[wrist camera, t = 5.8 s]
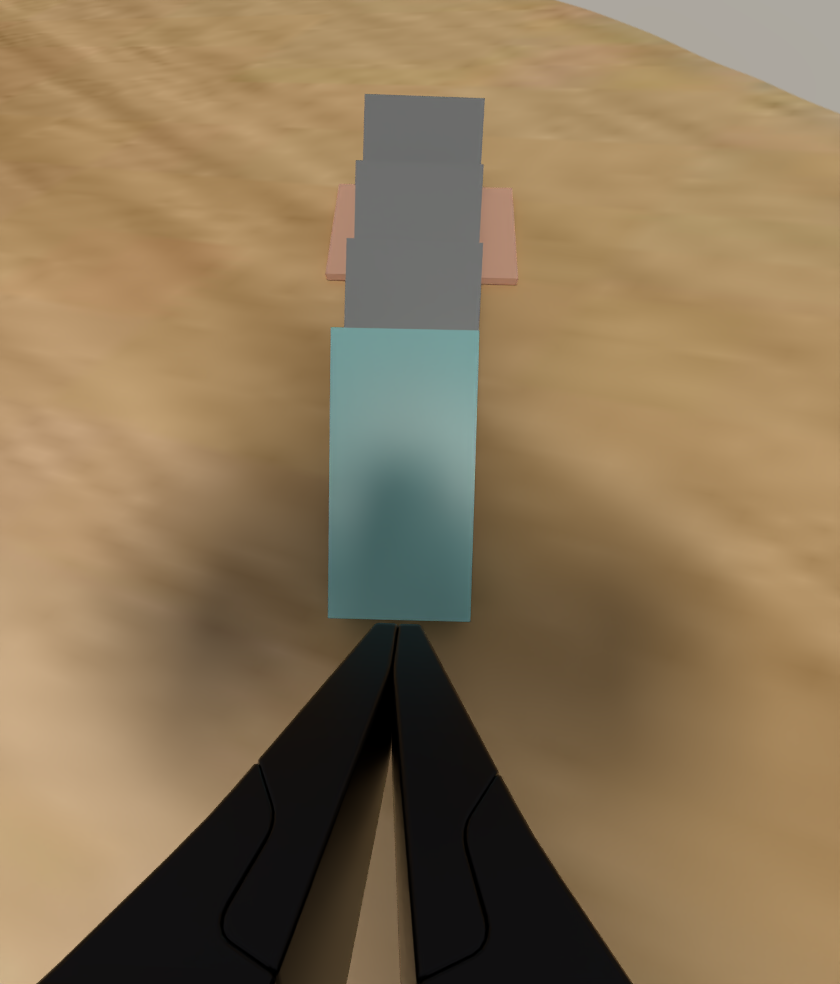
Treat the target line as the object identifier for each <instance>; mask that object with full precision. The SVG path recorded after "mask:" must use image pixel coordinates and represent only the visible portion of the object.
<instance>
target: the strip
mask: <svg viewBox="0 0 840 984" xmlns="http://www.w3.org/2000/svg"><path fill="white" fill-rule="evenodd" d="M354 227H355V184H339V188H338V195H337V201H336V208H335V214H334V221H333V228H332V234H331V241H330V247H329V254H328V260H327V267H326V273H325V274H326V278H327V280H346V242H347V238H354ZM479 243H483V257H482V276H481V284H503V285H517V281H518V270H517V255H516V240H515V224H514V209H513V194H512V188H489V187H482V202H481V221H480V240H479Z"/></svg>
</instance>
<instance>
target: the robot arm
mask: <svg viewBox="0 0 840 984" xmlns="http://www.w3.org/2000/svg"><path fill="white" fill-rule="evenodd" d="M391 745H392V781H393V807H394V832H395V858H396V883H397V908H398V934H399V959H400V984H633V983H632V982H631V980H630V979H629V977H628V976H627V974H626V973H625V971H624V970H623V968H622V967H621V965H620V964H619V963H618V961H617V960H616V958H615V957H614V955H613V954H612V952H611V951H610V949H609V948H608V946H607V945H606V943H605V942H604V940H603V939H602V937H601V936H600V934H599V933H598V931H597V930H596V928H595V927H594V926H593V924H592V923H591V921H590V920H589V918H588V917H587V915H586V914H585V912H584V911H583V909H582V908H581V906H580V905H579V903H578V902H577V900H576V899H575V897H574V896H573V894H572V893H571V892H570V890H569V889H568V887H567V886H566V884H565V883H564V881H563V880H562V878H561V877H560V875H559V874H558V872H557V870H556V869H555V867H554V866H553V864H552V863H551V861H550V860H549V858H548V856H547V855H546V853H545V852H544V850H543V849H542V847H541V846H540V844H539V842H538V841H537V839H536V838H535V836H534V835H533V833H532V831H531V829H530V828H529V826H528V824H527V822H526V820H525V819H524V817H523V815H522V813H521V812H520V810H519V808H518V806H517V805H516V803H515V801H514V799H513V798H512V796H511V794H510V792H509V790H508V788H507V786H506V784H505V782H504V781H503V779H502V777H501V776H500V775H498V770H497V768H496V766H495V764H494V762H493V760H492V758H491V756H490V755H489V753H488V751H487V749H486V747H485V745H484V743H483V741H482V739H481V738H480V736H479V734H478V732H477V730H476V728H475V726H474V724H473V722H472V721H471V719H470V717H469V715H468V713H467V711H466V709H465V707H464V705H463V704H462V702H461V700H460V698H459V696H458V694H457V692H456V690H455V688H454V687H453V685H452V683H451V681H450V679H449V677H448V675H447V673H446V672H445V670H444V668H443V666H442V664H441V662H440V660H439V658H438V656H437V655H436V653H435V651H434V649H433V647H432V645H431V643H430V641H429V639H428V638H427V636H426V634H425V632H424V630H423V628H422V627H421V626H420V625H418V624H401V625H399V627H398V626H397V625H396V624H394V623H376V624H375V625H374V626H373V627H372V628H371V629H370V631H369V632H368V633H367V634H366V635H365V636H364V637H363V639H362V640H361V641H360V642H359V643H358V644H357V646H356V647H355V648H354V649H353V650H352V651H351V653H350V654H349V655H348V656H347V657H346V658H345V660H344V661H343V662H342V663H341V664H340V665H339V667H338V668H337V669H336V670H335V671H334V672H333V674H332V675H331V676H330V677H329V678H328V679H327V681H326V682H325V683H324V684H323V685H322V686H321V688H320V689H319V690H318V691H317V692H316V693H315V695H314V696H313V697H312V698H311V699H310V700H309V702H308V703H307V704H306V705H305V706H304V707H303V708H302V710H301V711H300V712H299V713H298V714H297V715H296V717H295V718H294V719H293V720H292V721H291V722H290V724H289V725H288V726H287V727H286V728H285V729H284V731H283V732H282V733H281V734H280V735H279V736H278V738H277V739H276V740H275V741H274V742H273V743H272V745H271V746H270V747H269V748H268V749H267V750H266V752H265V753H264V754H263V755H262V756H261V757H260V758H259V760H258V764H254V765H253V766H252V767H251V769H250V770H249V771H248V772H247V773H246V774H245V776H244V777H243V778H242V779H241V780H240V781H239V783H238V784H237V785H236V786H235V787H234V788H233V789H232V790H231V792H230V793H229V794H228V795H227V796H226V797H225V798H224V799H223V800H222V802H221V803H220V804H219V805H218V806H217V807H216V808H215V809H214V810H213V812H212V813H211V814H210V815H209V816H208V817H207V818H206V819H205V820H204V821H203V822H202V823H201V824H200V825H199V826H198V827H197V828H196V829H195V830H194V831H193V832H192V833H191V834H190V835H189V836H188V837H187V838H186V839H185V840H184V841H183V842H182V843H181V844H180V845H179V846H178V847H177V848H176V849H175V850H174V851H173V852H172V853H171V854H170V856H169V857H168V858H166V859H165V860H164V861H163V862H162V863H161V864H160V865H159V866H158V867H157V868H156V869H155V870H154V871H153V872H152V873H151V874H150V875H149V876H148V877H147V878H146V879H145V880H144V881H143V882H142V883H141V884H140V885H139V886H138V887H137V888H136V889H135V890H134V891H133V892H132V893H131V894H129V895H128V896H127V897H126V898H125V899H124V900H123V901H122V902H121V903H120V904H119V905H118V906H117V907H116V908H115V909H114V910H113V911H112V912H111V913H110V914H109V915H108V916H107V917H106V918H105V919H104V920H103V921H102V922H101V923H100V924H99V925H98V926H97V927H96V928H95V929H93V930H92V931H91V932H90V933H89V934H88V935H87V936H86V937H85V938H84V939H83V940H82V941H81V942H80V943H79V944H78V945H77V946H76V947H75V948H74V949H73V950H72V951H71V952H70V953H69V954H68V955H67V956H66V957H65V958H64V959H63V960H62V961H61V962H60V963H58V964H57V965H56V966H55V967H54V968H53V969H52V970H51V971H50V972H49V973H48V974H47V975H46V976H44V977H43V978H42V979H41V980H40V981H39V982H38V983H37V984H346V983H347V977H348V972H349V967H350V962H351V957H352V952H353V947H354V941H355V936H356V931H357V926H358V921H359V916H360V910H361V905H362V900H363V895H364V890H365V885H366V880H367V874H368V869H369V864H370V859H371V854H372V849H373V844H374V838H375V833H376V828H377V823H378V818H379V813H380V808H381V802H382V797H383V792H384V787H385V782H386V777H387V772H388V766H389V760H390V754H391Z"/></svg>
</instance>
